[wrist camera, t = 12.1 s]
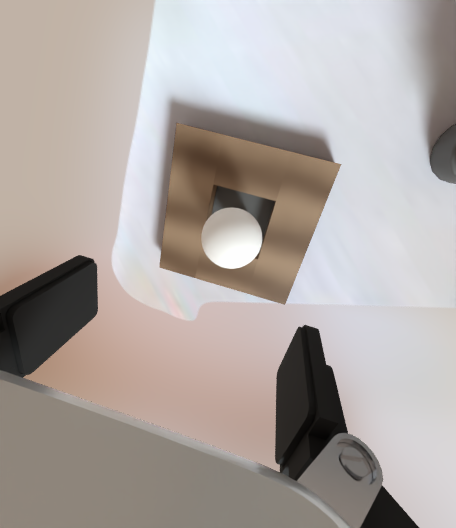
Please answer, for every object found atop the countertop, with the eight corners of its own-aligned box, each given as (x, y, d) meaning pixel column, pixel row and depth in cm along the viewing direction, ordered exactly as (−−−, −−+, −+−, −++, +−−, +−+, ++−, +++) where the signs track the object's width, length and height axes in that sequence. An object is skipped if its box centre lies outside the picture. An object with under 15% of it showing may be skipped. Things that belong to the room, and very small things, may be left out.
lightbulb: (234, 185, 30) (215, 201, 20) (274, 213, 31) (275, 242, 21) (209, 224, 33) (182, 255, 23) (246, 249, 34) (235, 290, 24)
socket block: (185, 125, 29) (176, 122, 27) (334, 163, 28) (341, 164, 25) (167, 259, 37) (159, 267, 34) (284, 293, 36) (284, 304, 33)
